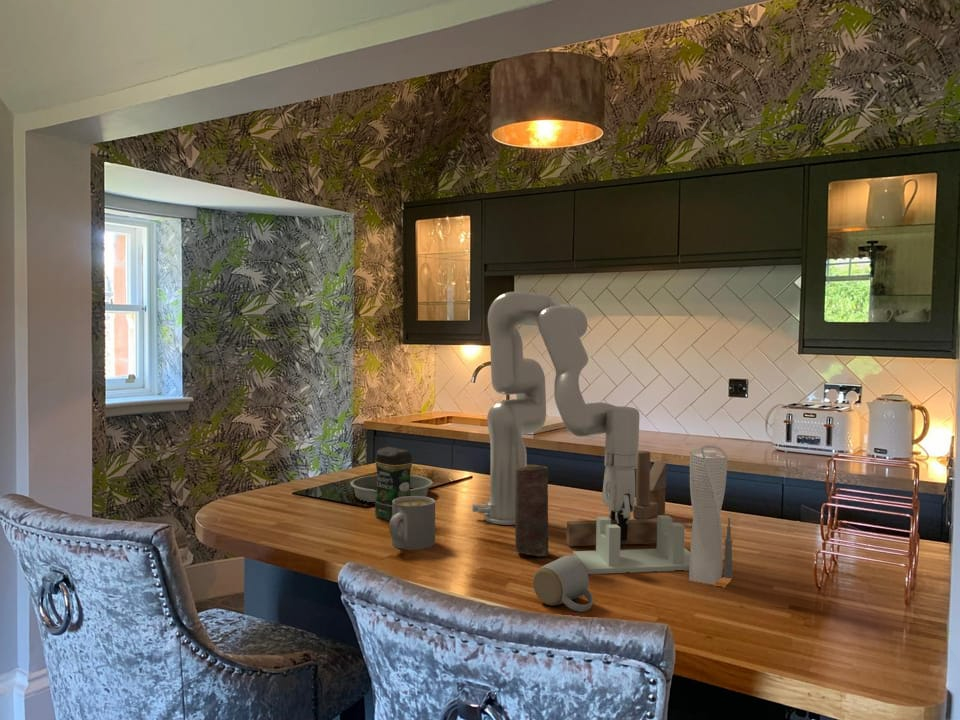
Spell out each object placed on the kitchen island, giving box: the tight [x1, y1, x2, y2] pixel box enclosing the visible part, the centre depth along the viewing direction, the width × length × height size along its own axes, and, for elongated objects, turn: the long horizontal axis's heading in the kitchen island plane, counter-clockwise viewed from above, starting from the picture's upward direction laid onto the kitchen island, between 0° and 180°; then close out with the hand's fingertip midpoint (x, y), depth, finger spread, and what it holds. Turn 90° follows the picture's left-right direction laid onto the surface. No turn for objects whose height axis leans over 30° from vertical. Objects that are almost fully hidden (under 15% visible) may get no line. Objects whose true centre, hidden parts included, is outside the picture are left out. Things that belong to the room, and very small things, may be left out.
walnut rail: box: [566, 518, 657, 547], centre depth 167 cm, size 24×2×5 cm, turn 98°
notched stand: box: [572, 514, 690, 575], centre depth 155 cm, size 26×12×9 cm, turn 98°
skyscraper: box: [688, 445, 733, 585], centre depth 144 cm, size 8×8×28 cm
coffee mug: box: [388, 496, 436, 551], centre depth 166 cm, size 13×10×10 cm
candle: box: [514, 463, 549, 557], centre depth 160 cm, size 8×7×20 cm
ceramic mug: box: [532, 555, 594, 613], centre depth 131 cm, size 11×8×8 cm
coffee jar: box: [374, 446, 413, 521], centre depth 190 cm, size 10×8×19 cm
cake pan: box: [349, 474, 434, 504], centre depth 216 cm, size 25×25×4 cm
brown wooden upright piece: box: [632, 450, 667, 519], centre depth 195 cm, size 4×11×18 cm, turn 135°
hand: (617, 537), depth 168 cm, fingers closed on walnut rail, 2 cm apart
